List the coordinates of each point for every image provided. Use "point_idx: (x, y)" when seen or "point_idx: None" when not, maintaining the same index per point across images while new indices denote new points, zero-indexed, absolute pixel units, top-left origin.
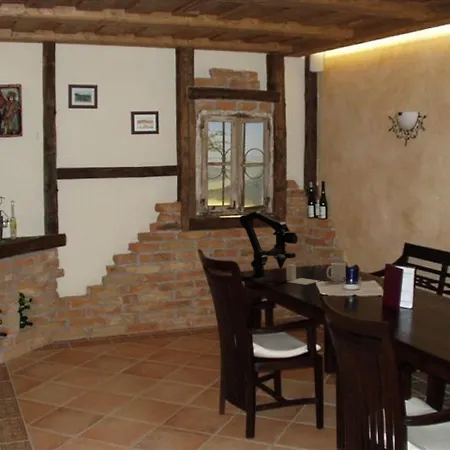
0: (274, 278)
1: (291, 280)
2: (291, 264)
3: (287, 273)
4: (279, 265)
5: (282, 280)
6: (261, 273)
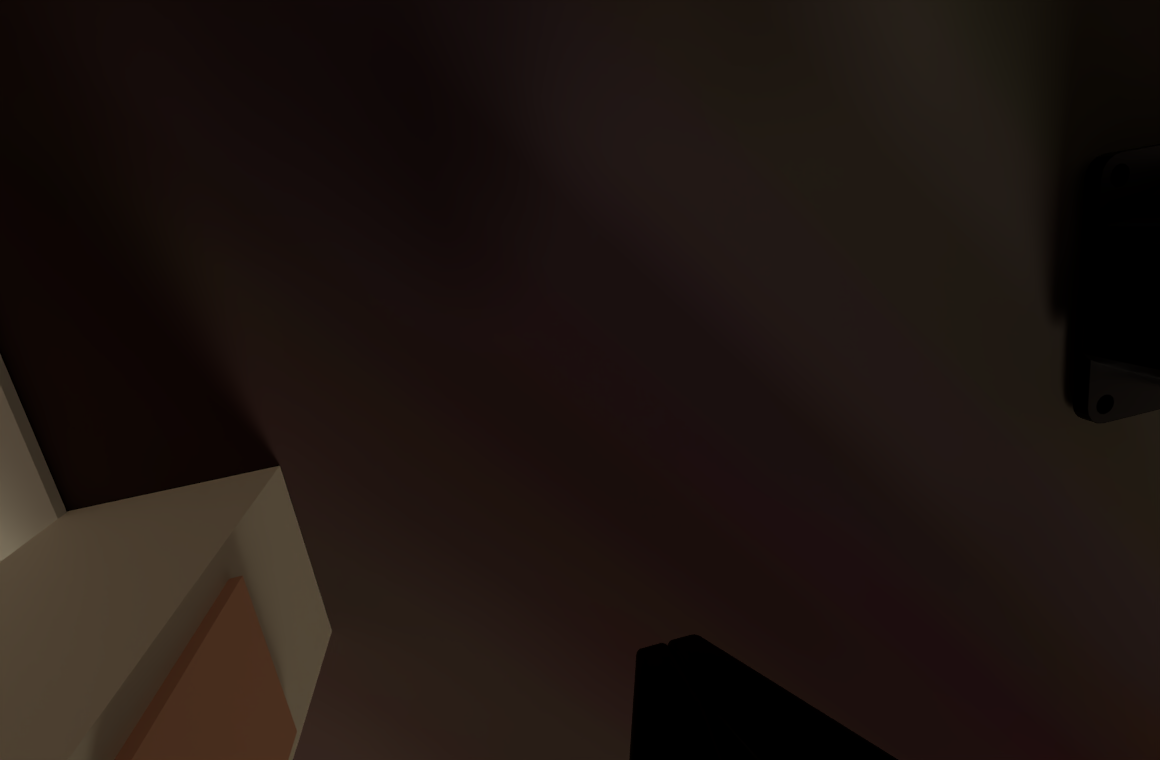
0: (687, 357)
1: (36, 492)
2: None
3: (152, 581)
4: (733, 714)
5: (300, 336)
6: (1151, 247)
